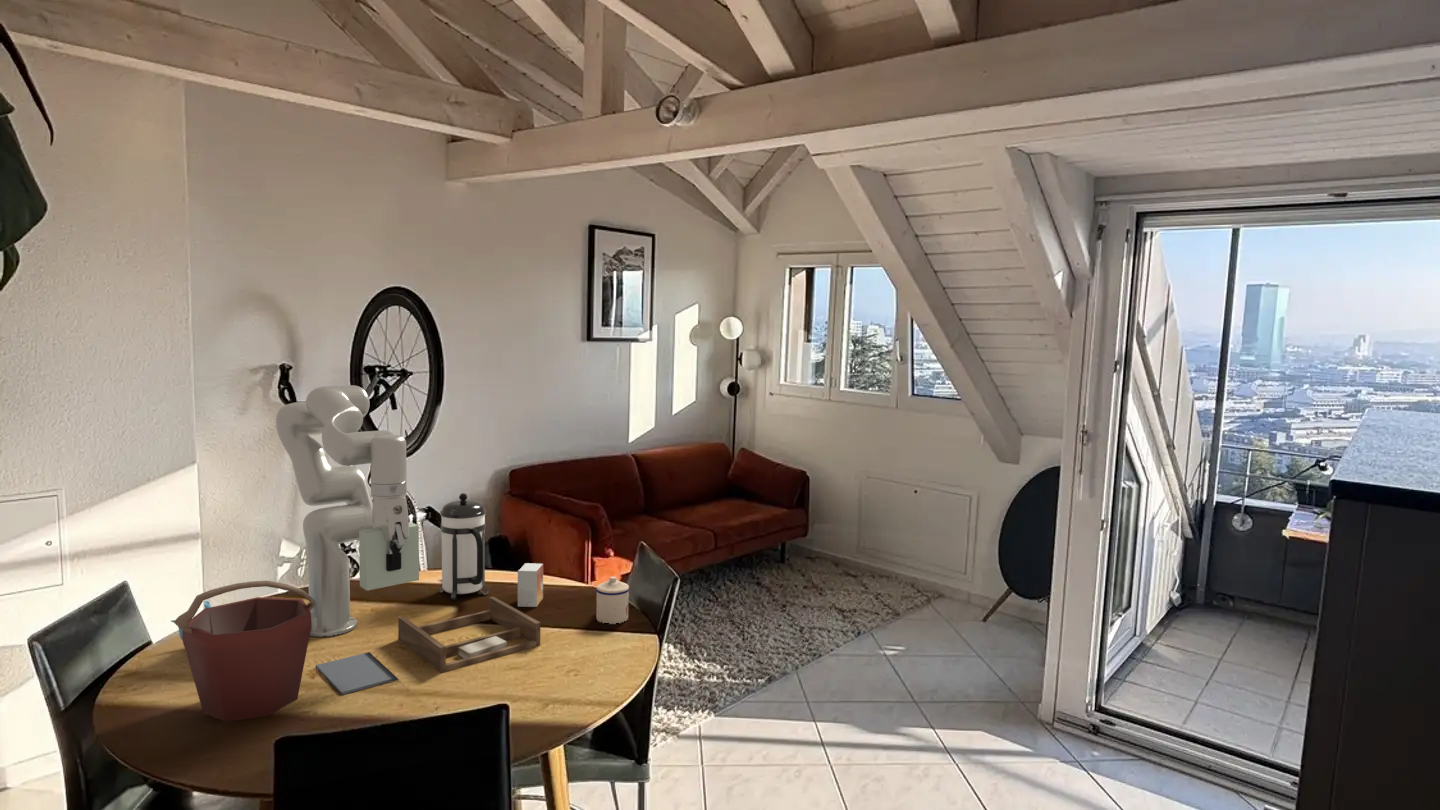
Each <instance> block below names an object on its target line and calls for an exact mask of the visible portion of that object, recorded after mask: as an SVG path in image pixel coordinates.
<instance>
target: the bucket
mask: <svg viewBox="0 0 1440 810" xmlns="http://www.w3.org/2000/svg"><path fill="white" fill-rule="evenodd" d="M261 587H262V588H263V587H264V588H265V587H267V588H268V587H269V588H274V589H279V590H284V591H288V592H289V593H290V592H291V593H294V594H297V595H300V596H302V597H303V598H305V599H306V600H307V601H308V603H307V604H306V603H305V600H304V599H303V598H286V597H285V598H284V597H283V598H282V597H259V596H257V597H252V598H247V599H242V600H240V601H233V602H229V603H225V604H224V603H223V604H220V605H214V606H211V607H210V608H205V607H204V608H203V609H202V610H201V611H200V612H198V611H199V609H200V607H201V606H202V604H203V603H204V601H207V600H208V599H211V598H215V597H217V596H219V595H223V594H225V593H229V592H230V593H231V592H233V591H238V590H243V589H244V590H245V589H250V588H261ZM309 601H310V602H309ZM315 604H316V602H315V600H314V599H313V598H312V597H311V596H310V595H309V593H307V591H305V590H304V589H302V588H299V587H296V586H293V585H291V584H286V583H282V582H277V581H271V580H258V581H255V580H254V581H244V582H238V583H233V584H232V583H231V584H229V585H225V586H220V587H217V588H213V589H210V590H207V591H205V592H203V593H200V594H197V595H196V596H195V598H194V599H193V601H192V602H191V604H190V606H189V608H188V610H187V611H185V612H183V613H182V614H180V615H179V616H177V618H176V619H174V620H175V621H174V622H173V623H174V624H175V625H176V626H177V628H178V627H179V628H180V629H181V630H182V637H183V640H182V644H183V647H184V650H185V653H186V658H187V661H188V664H189V667H190V671H191V674H192V678H193V682H194V684H195V689H196V692H197V695H198V696H197V697H198V698H199V703H200V706H201V710H202V713H203V712H205V713H206V715H208V714H209V716H210V715H211V717H213V716H214V717H213V718H215V717H216V718H215V719H217V718H218V720H220V719H221V720H220V721H222V720H223V721H222V722H224V723H228V722H232V721H240V720H241V719H242V720H247V719H248V720H249V719H254V718H259V717H260V718H261V717H267V716H270V715H272V714H274V713H276V712H277V711H280V710H281V709H283V708H285V707H286V706H288V705H290V704H292V703H294V702H296V701H298V698H299V693H300V687H301V683H302V682H301V681H302V678H303V672H304V666H305V662H306V657H307V652H308V646H309V641H310V637H311V636H310V631H311V612H310V610H311V609H312V608H313V607H315ZM197 612H198V613H197ZM179 628H178V629H179ZM205 713H204V714H205ZM242 720H241V721H242ZM227 721H228V722H227Z"/></svg>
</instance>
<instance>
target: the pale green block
mask: <svg viewBox="0 0 1440 810" xmlns="http://www.w3.org/2000/svg"><path fill="white" fill-rule="evenodd" d="M419 527H420V526H419V525H418V524H416V523H414V522H411V521H410V522H409V537H408V538H407V539H404V542H405V544H404V545H403V546H402V552H401V569H399V570H394V571H387V570H386V554H388V548H387V541H386V540H384V536H383V531H381V530H379V529H377V528H370V529H364V530H359V540H358V541H359V544H358V548H359V553H358V554H359V557H358V558H359V587H360V588H362V589H364V590H365V591H371V590H377V589H382V588H387V587H392V586H397V585H402V584H407V583H411V582H415V581H419V580H420V541H419V540H420V538H419V537H420V535H419V534H420V532H419V531H420V528H419ZM393 539H396V537H392V540H393ZM395 543H396V542H394V543H391V544H392V546H393V544H395Z"/></svg>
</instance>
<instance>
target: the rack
mask: <svg viewBox="0 0 1440 810" xmlns="http://www.w3.org/2000/svg"><path fill="white" fill-rule="evenodd" d="M397 619H398V620H397V623H398V625H397V628H398V630H397V631H398V633H397V634H398V636H397V637H398V638H397V639H398V641H399V642H400V643H402V644H403V646H406V647H407V648H408V649H410V650H411V651H412V652H414V653H415V654H416V655H417V656H418V657H420V658H421V659H422V660H424V661H425V662H426V663H427V664H429V665H430V666H431V667H433V668H434V669H435V670H436V671H438V672H439V673H445V672H448V671H452V670H456V669H459V668H462V667H463V668H464V667H466V666H471V665H474V664H477V663H482V662H485V661H488V660H491V659H492V660H493V659H495V658H499V657H503V656H507V655H510V654H514V653H517V652H520V651H524V650H528V649H531V648H535V647H538V646H541V621H539V620H537V619H535V618H533V617H531V616H529V615H528V614H526V613H524V612H522V611H520V610H518V609H517V608H515V607H513V606H512V605H509V603H506V602H504V601H503V600H500V599H498V598H497V597H495V596H489V597H488V610H482V611H479V612H476V613H469V614H465V615H460V616H457V617H454V618H452V617H451V618H447V619H444V620H441V621H435V622H432V623H427V624H422V625H418V626H417V624H415V623H413V622H412V621H410V620H409V619H408V618H406V617H405V616H404V615H402V616H398V617H397ZM490 620H491V621H493V622H494V623H496V624H498V625H500V626H501V627H503V628H504V629H506V630H503V631H498V632H494V633H491V634H487V635H482V636H479V637H475V638H471V639H467V640H463V641H459V642H455V643H451V644H446V645H444V644H443V643H442V642H440V641H438V640H437V639H436V638H435V637H433V636H431V635H433V634H436V633H440V632H441V633H442V632H444V631H448V630H453V629H457V628H461V627H465V626H469V625H472V624H477V623H482V622H485V621H490ZM494 636H497V637H499V638H501V639H503V640H505V641H507V642H508V641H512V640H516V639H519V638H521V639H523V640H524V642H521V643H517V644H514V645H510V646H507V647H506V648H502V649H498V650H495V651H491V652H487V653H483V654H480V655H476V656H472V657H469V658H465V659H464V658H461V659H458V660H455V661H451V662H446V661H447V659H446V658H448V657H451V656H455V655H459V649H458V647H461V646H465V645H468V644H471V643H474V642H478V641H481V640H484V639H487V638H491V637H494Z"/></svg>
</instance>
